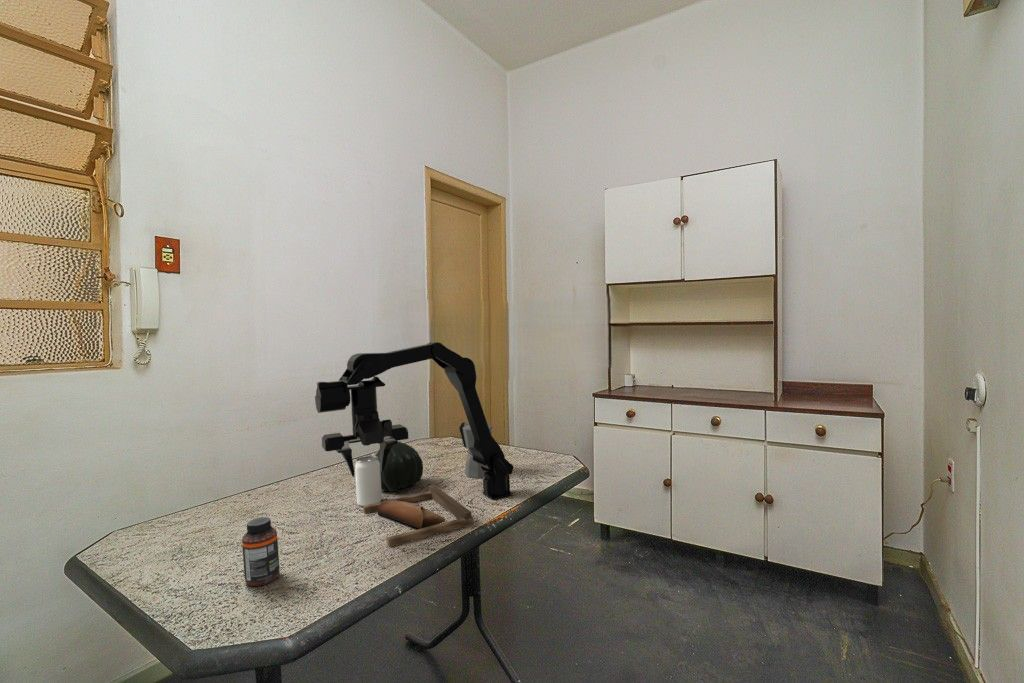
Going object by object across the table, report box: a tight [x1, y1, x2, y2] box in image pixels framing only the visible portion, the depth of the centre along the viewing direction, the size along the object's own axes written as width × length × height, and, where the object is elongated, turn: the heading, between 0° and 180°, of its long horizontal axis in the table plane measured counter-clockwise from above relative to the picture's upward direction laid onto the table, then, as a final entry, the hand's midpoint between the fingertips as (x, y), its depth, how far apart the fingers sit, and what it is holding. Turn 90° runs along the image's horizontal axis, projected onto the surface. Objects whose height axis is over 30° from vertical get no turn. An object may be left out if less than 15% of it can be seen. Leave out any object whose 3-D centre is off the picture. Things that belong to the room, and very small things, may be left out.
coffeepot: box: [458, 421, 493, 479], centre depth 151 cm, size 15×9×18 cm, turn 44°
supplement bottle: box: [241, 516, 281, 587], centre depth 90 cm, size 6×6×11 cm
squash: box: [374, 440, 424, 492], centre depth 141 cm, size 14×15×15 cm
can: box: [354, 455, 383, 507], centre depth 129 cm, size 6×6×12 cm
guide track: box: [362, 484, 475, 548], centre depth 117 cm, size 20×24×3 cm
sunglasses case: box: [376, 500, 448, 530], centre depth 116 cm, size 18×7×7 cm
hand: (367, 473), depth 111 cm, fingers open, 6 cm apart
